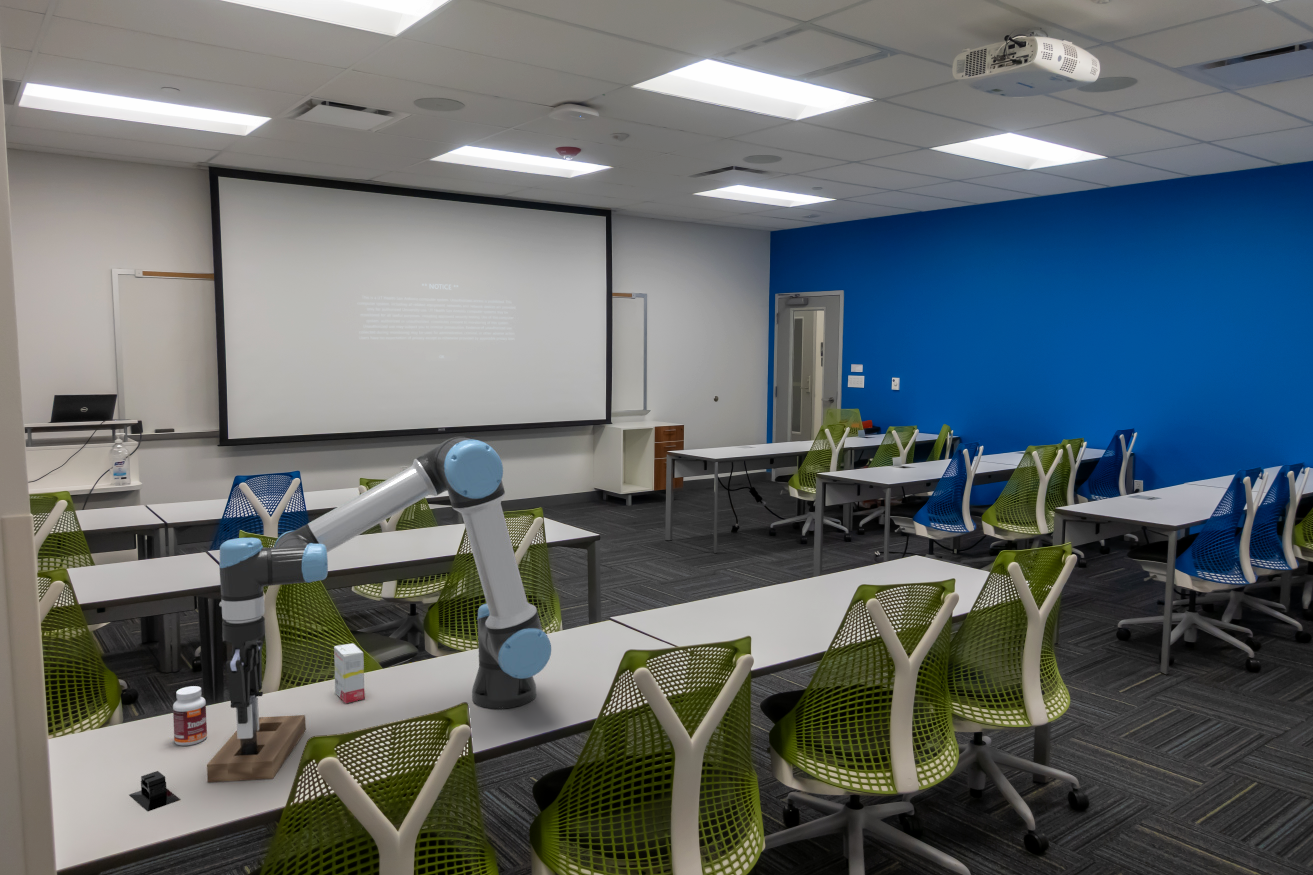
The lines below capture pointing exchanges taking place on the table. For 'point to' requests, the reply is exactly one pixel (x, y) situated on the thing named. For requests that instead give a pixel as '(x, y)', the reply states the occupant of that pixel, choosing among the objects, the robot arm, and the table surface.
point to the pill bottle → (189, 716)
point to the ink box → (349, 672)
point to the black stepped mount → (153, 792)
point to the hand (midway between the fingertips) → (248, 733)
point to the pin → (251, 743)
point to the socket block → (272, 747)
